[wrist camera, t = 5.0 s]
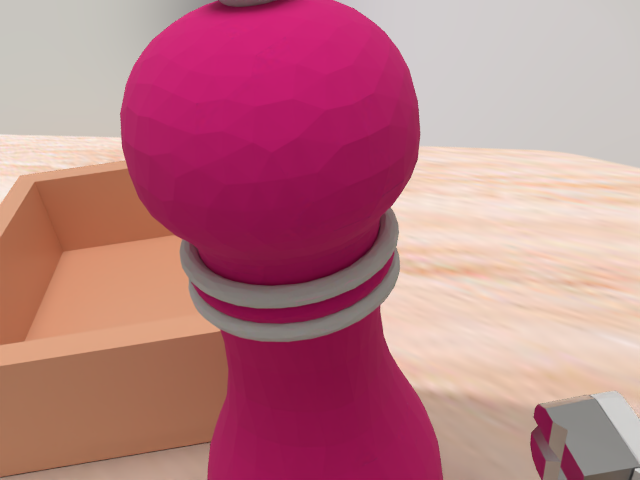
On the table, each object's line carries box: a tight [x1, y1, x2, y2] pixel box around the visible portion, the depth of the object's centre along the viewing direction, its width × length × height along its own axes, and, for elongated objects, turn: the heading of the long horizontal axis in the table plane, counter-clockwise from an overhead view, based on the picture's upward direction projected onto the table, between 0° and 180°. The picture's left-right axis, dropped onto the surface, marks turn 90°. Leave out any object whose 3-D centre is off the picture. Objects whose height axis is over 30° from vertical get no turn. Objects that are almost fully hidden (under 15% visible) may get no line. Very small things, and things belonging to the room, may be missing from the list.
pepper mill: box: [120, 0, 443, 480], centre depth 15 cm, size 7×7×20 cm
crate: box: [0, 161, 228, 477], centre depth 31 cm, size 17×17×6 cm
